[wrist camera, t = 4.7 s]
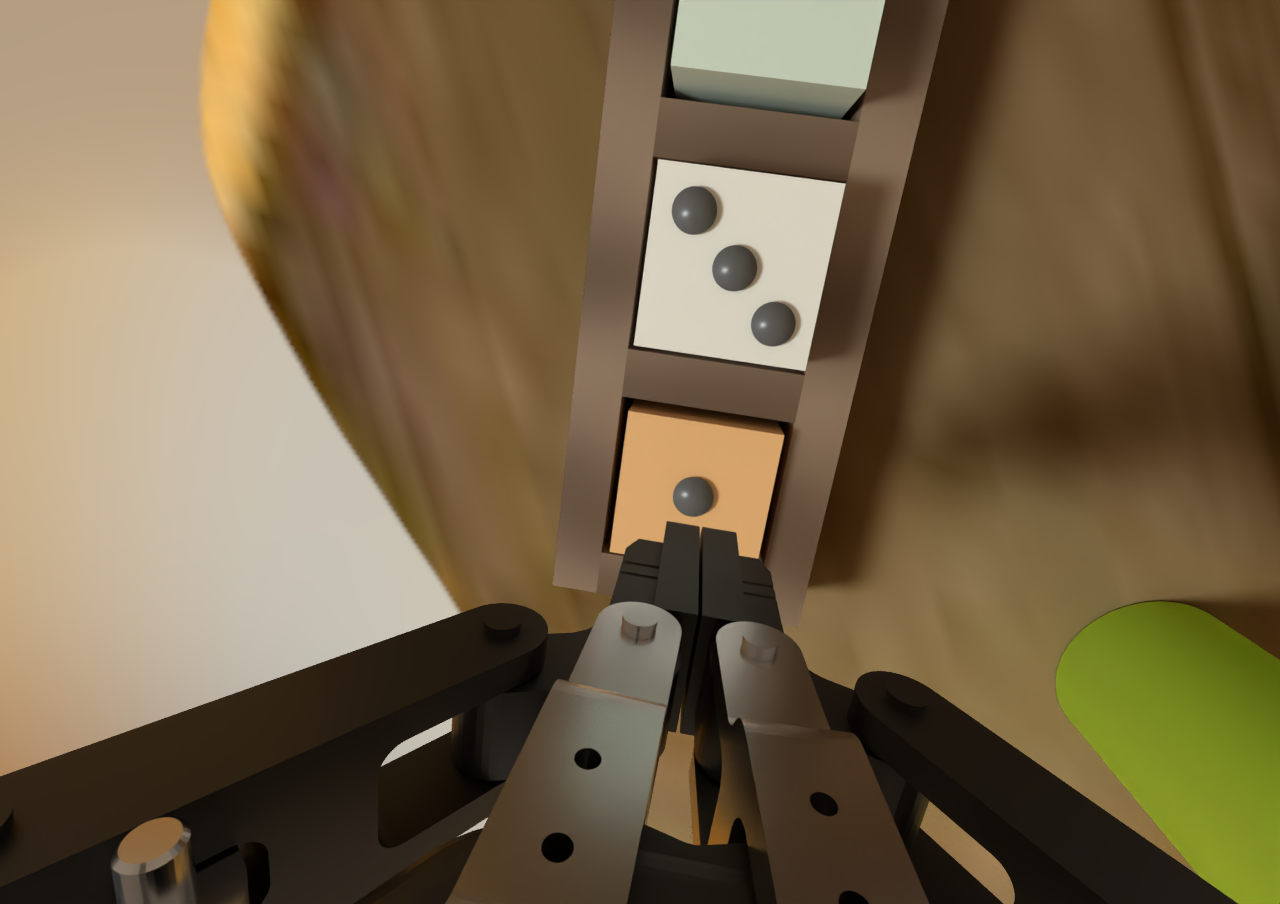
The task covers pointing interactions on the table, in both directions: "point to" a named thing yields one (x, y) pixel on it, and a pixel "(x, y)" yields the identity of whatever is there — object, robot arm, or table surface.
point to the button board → (801, 400)
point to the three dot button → (736, 263)
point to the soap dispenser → (1187, 734)
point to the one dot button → (695, 473)
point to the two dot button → (775, 53)
